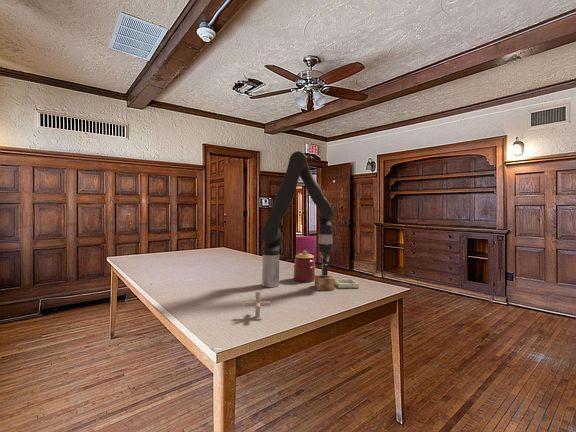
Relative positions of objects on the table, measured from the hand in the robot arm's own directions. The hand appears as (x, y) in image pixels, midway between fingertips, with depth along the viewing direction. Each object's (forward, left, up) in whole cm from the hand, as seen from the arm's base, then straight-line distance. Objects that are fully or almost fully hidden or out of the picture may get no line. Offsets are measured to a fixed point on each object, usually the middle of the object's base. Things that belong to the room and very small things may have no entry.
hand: (324, 274), depth 165 cm
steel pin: (0, 0, -7) cm, 7 cm away
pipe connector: (-37, -41, -8) cm, 56 cm away
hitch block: (0, 0, -7) cm, 7 cm away
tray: (+13, +3, -7) cm, 15 cm away
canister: (-8, +18, -8) cm, 21 cm away
